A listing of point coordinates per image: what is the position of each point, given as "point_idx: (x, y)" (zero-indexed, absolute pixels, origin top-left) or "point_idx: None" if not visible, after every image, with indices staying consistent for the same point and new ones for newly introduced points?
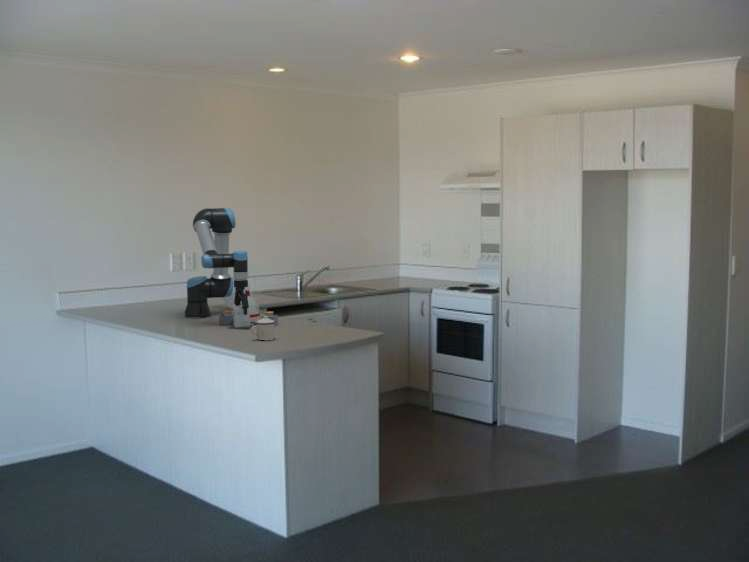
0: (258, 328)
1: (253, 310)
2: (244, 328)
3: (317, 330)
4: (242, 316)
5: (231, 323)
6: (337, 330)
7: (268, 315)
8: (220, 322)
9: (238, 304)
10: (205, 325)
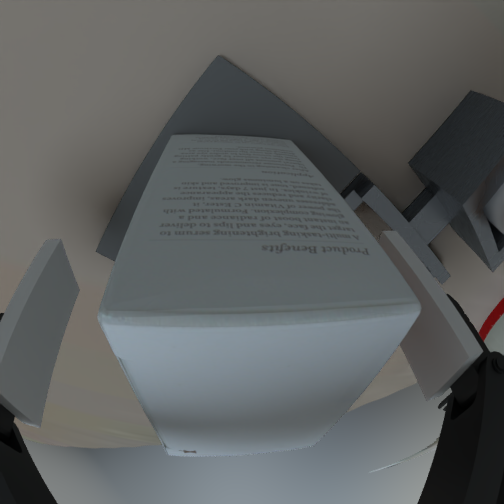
0: None
1: (497, 345)
2: (116, 210)
3: (53, 417)
4: (35, 278)
5: (418, 171)
6: (56, 433)
7: None
8: (481, 103)
9: (460, 392)
10: (494, 7)
